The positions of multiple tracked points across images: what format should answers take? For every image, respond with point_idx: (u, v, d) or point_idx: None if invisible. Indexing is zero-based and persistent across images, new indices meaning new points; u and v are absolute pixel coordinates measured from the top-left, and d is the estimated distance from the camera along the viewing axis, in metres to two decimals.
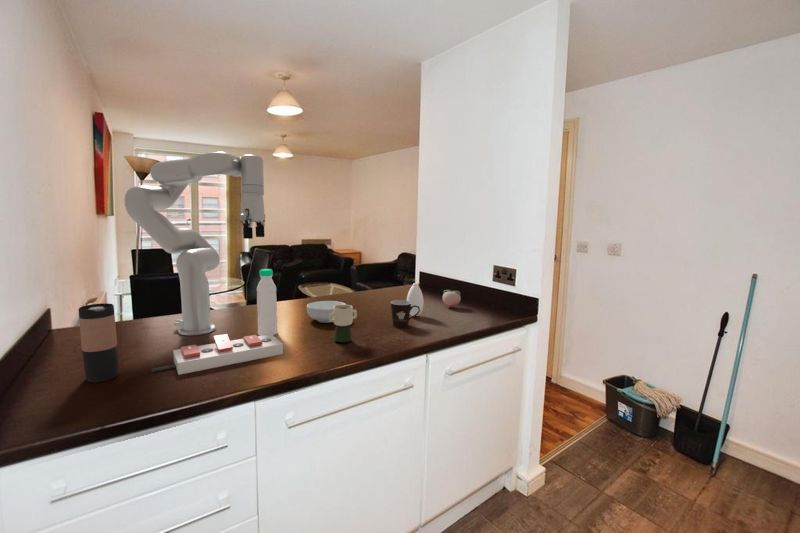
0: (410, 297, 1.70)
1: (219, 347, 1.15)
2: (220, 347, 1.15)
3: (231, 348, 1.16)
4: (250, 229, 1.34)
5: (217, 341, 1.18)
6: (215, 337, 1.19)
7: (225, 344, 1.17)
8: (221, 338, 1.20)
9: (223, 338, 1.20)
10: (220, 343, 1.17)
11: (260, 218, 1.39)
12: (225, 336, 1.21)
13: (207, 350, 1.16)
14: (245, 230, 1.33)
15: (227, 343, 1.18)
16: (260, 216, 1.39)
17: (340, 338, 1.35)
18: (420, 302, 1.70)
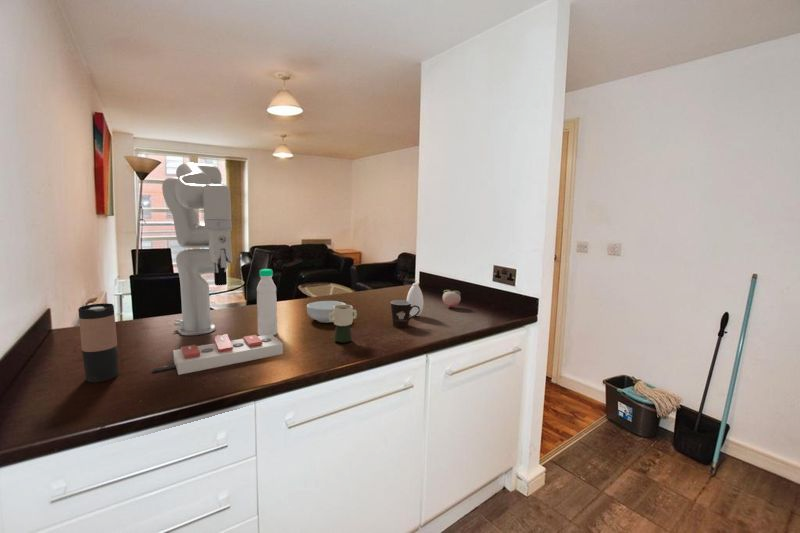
0: (410, 297, 1.70)
1: (219, 347, 1.15)
2: (220, 347, 1.15)
3: (231, 348, 1.16)
4: None
5: (217, 341, 1.18)
6: (215, 337, 1.19)
7: (225, 344, 1.17)
8: (221, 338, 1.20)
9: (223, 338, 1.20)
10: (220, 343, 1.17)
11: (212, 258, 1.15)
12: (225, 336, 1.21)
13: (207, 350, 1.16)
14: None
15: (227, 343, 1.18)
16: (212, 257, 1.15)
17: (340, 338, 1.35)
18: (420, 302, 1.70)
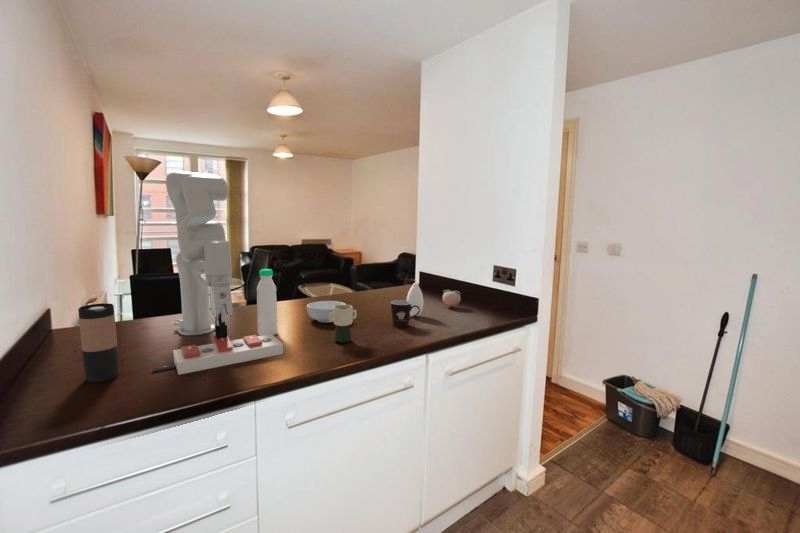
0: (410, 297, 1.70)
1: (219, 347, 1.15)
2: (220, 347, 1.15)
3: (231, 348, 1.16)
4: None
5: (217, 341, 1.18)
6: (215, 337, 1.19)
7: (225, 344, 1.17)
8: (221, 338, 1.20)
9: (223, 338, 1.20)
10: (220, 343, 1.17)
11: (213, 313, 1.17)
12: None
13: (207, 350, 1.16)
14: None
15: (227, 343, 1.18)
16: (213, 311, 1.17)
17: (340, 338, 1.35)
18: (420, 302, 1.70)
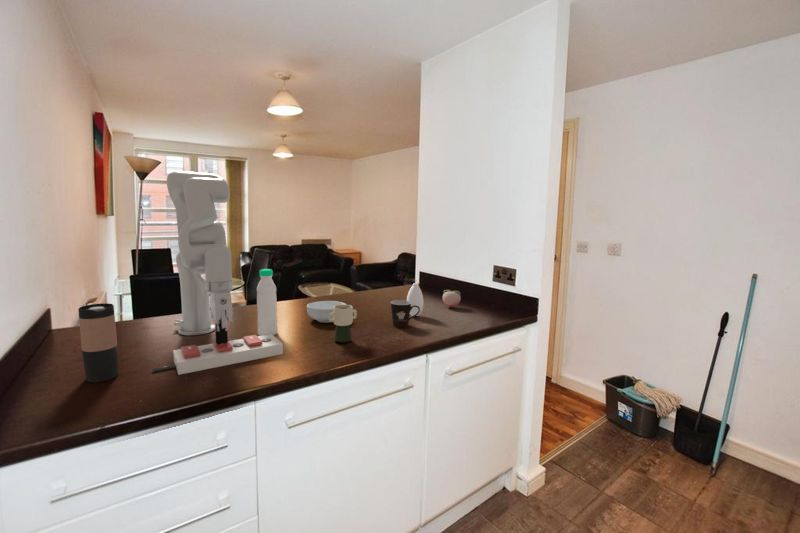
0: (410, 297, 1.70)
1: (219, 347, 1.15)
2: (220, 347, 1.15)
3: (231, 348, 1.17)
4: None
5: (217, 345, 1.18)
6: (215, 343, 1.20)
7: (225, 345, 1.17)
8: None
9: None
10: (220, 345, 1.17)
11: (213, 318, 1.17)
12: None
13: (207, 350, 1.16)
14: None
15: (227, 345, 1.18)
16: (213, 317, 1.17)
17: (340, 338, 1.35)
18: (420, 302, 1.70)
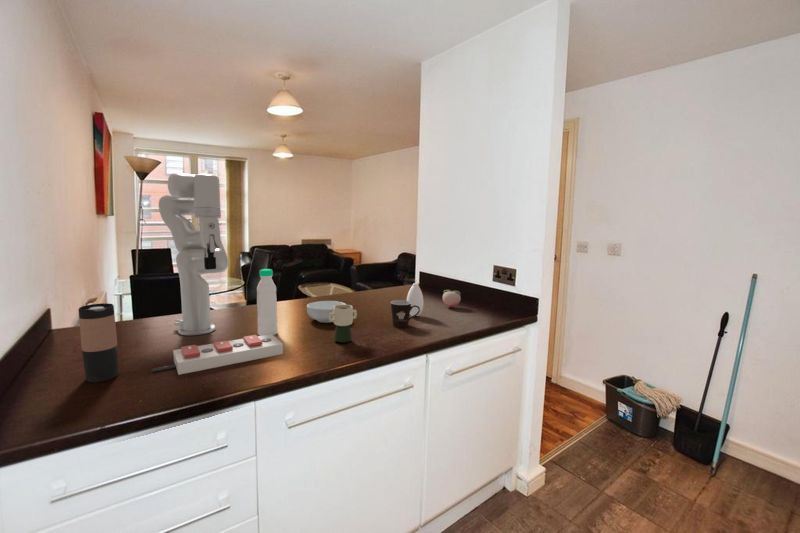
0: (410, 297, 1.70)
1: (219, 347, 1.15)
2: (220, 347, 1.15)
3: (231, 348, 1.17)
4: None
5: (217, 345, 1.18)
6: (215, 343, 1.20)
7: (225, 345, 1.17)
8: (221, 342, 1.20)
9: (223, 342, 1.20)
10: (220, 345, 1.17)
11: (202, 244, 1.22)
12: (225, 341, 1.22)
13: (207, 350, 1.16)
14: None
15: (227, 345, 1.18)
16: (202, 242, 1.22)
17: (340, 338, 1.35)
18: (420, 302, 1.70)
